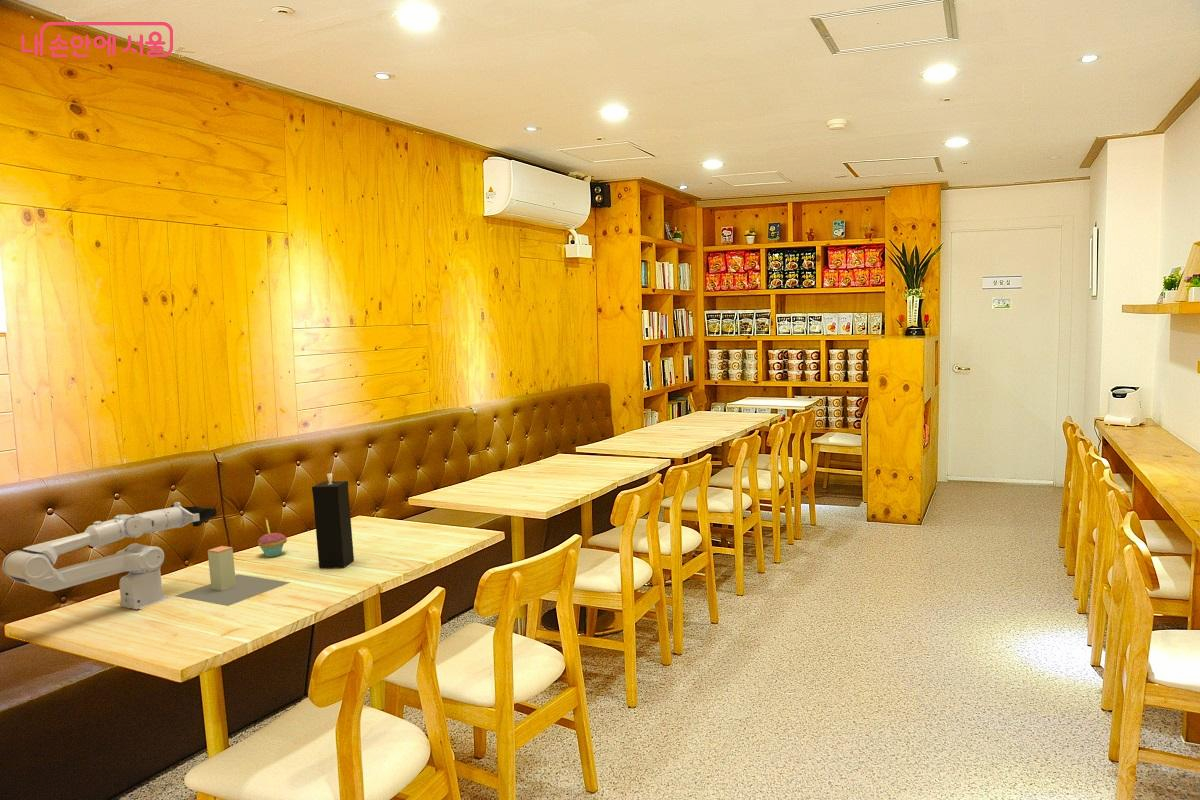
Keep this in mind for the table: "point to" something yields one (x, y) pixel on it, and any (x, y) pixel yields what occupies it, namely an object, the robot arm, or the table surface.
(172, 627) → the table surface
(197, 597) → the rubber mat
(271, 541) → the cupcake
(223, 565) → the sage block
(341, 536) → the black pillar candle
